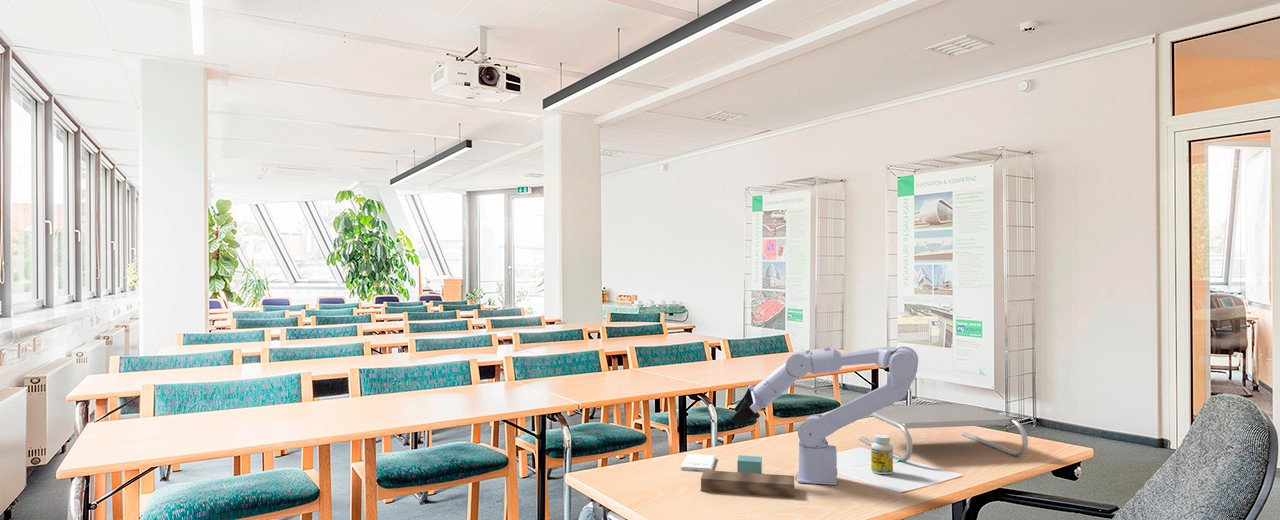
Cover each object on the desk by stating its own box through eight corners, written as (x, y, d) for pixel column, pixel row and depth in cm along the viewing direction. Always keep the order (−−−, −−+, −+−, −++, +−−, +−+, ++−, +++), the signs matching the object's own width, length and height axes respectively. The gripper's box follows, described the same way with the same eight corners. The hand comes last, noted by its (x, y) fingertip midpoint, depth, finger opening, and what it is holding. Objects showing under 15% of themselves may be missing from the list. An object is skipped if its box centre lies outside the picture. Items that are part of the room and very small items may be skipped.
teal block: (761, 473, 185) (761, 456, 185) (761, 479, 180) (761, 462, 180) (738, 472, 186) (738, 455, 186) (737, 478, 181) (737, 460, 181)
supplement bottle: (896, 472, 186) (896, 436, 186) (886, 477, 182) (887, 439, 182) (877, 468, 190) (877, 432, 190) (867, 472, 186) (867, 436, 186)
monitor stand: (965, 436, 226) (966, 403, 226) (1029, 461, 198) (1029, 422, 198) (858, 441, 219) (858, 406, 219) (908, 467, 192) (908, 427, 192)
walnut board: (793, 488, 173) (793, 475, 173) (794, 497, 166) (794, 484, 166) (703, 482, 177) (704, 470, 177) (700, 490, 170) (700, 478, 170)
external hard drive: (716, 461, 198) (711, 474, 185) (686, 459, 199) (680, 472, 187) (716, 455, 198) (711, 468, 185) (686, 453, 199) (680, 466, 187)
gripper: (764, 366, 191) (728, 396, 195) (759, 383, 177) (720, 416, 181) (783, 385, 190) (746, 415, 194) (779, 404, 177) (739, 436, 181)
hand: (735, 417), depth 188 cm, fingers open, 7 cm apart
